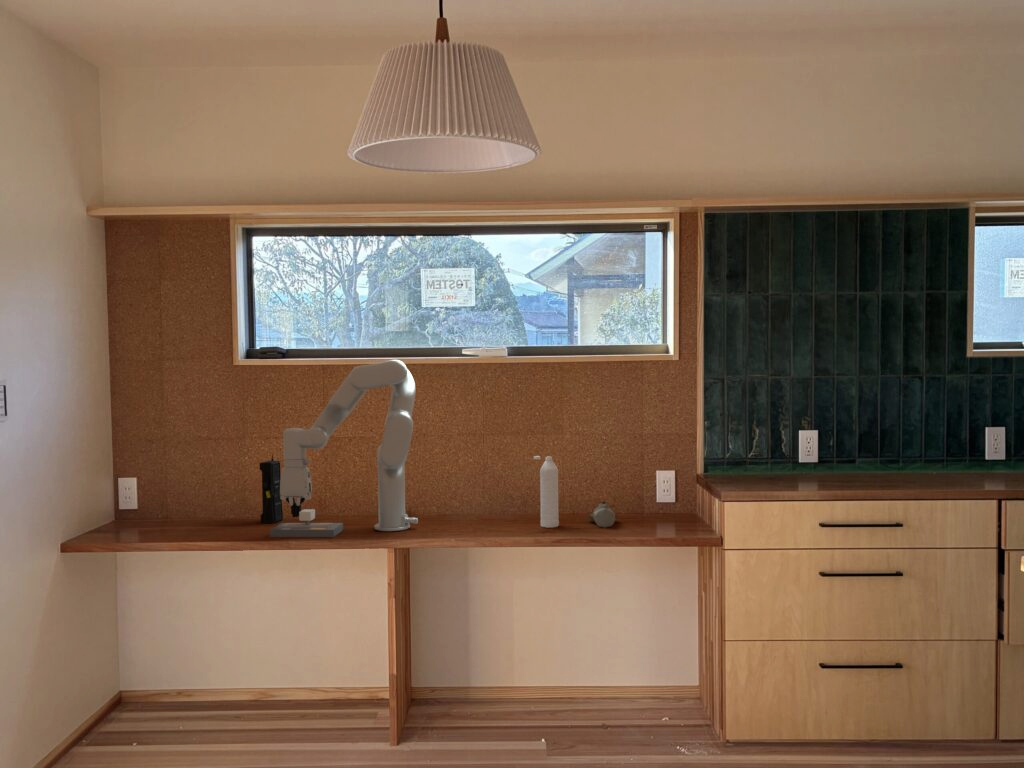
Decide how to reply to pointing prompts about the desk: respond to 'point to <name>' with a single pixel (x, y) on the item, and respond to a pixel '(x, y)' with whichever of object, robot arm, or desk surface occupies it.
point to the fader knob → (307, 515)
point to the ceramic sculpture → (603, 515)
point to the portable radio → (271, 492)
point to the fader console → (306, 530)
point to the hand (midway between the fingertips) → (296, 516)
